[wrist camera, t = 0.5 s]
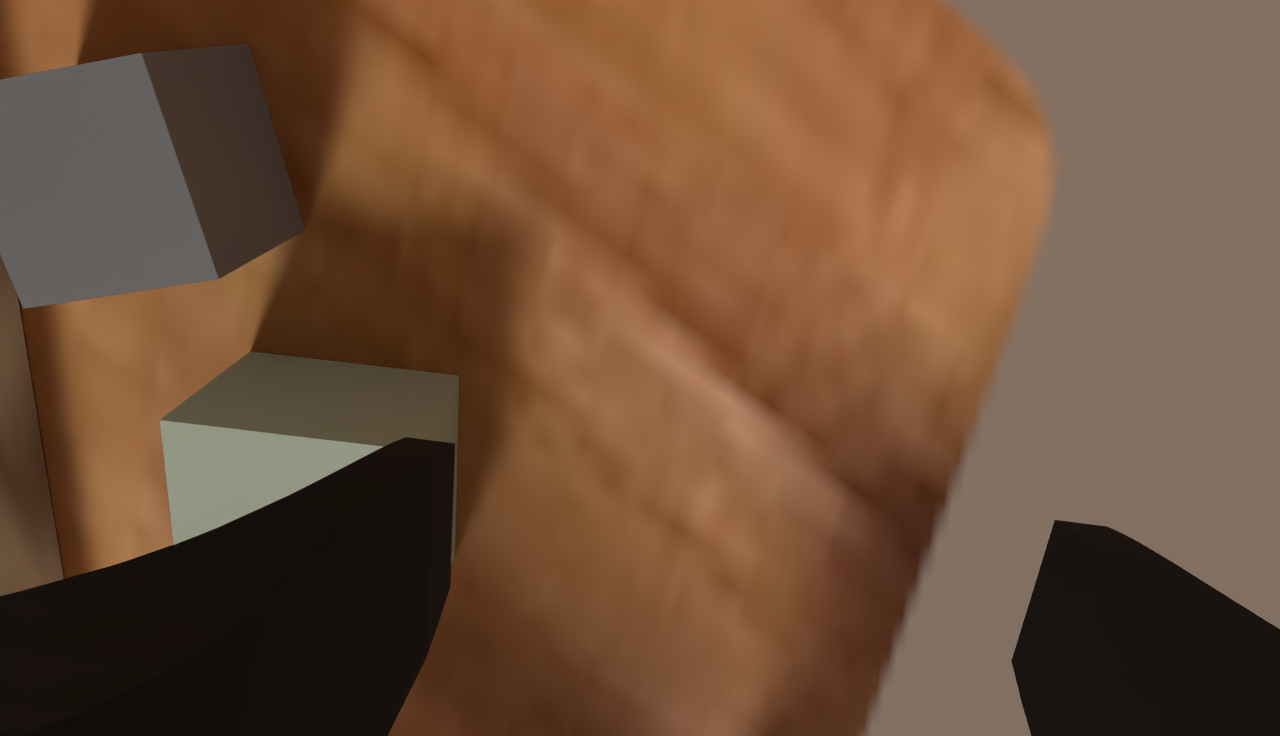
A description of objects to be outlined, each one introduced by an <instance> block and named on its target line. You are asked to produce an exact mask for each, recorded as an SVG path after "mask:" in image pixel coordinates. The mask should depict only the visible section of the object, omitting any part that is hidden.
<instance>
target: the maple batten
mask: <svg viewBox="0 0 1280 736" xmlns="http://www.w3.org/2000/svg"><path fill="white" fill-rule="evenodd" d="M62 579H64V576H63V570H62V564H61V558H60V552H59V546H58V540H57V534H56V528H55V522H54V515H53V509H52V503H51V497H50V491H49V485H48V479H47V473H46V467H45V460H44V454H43V448H42V442H41V436H40V430H39V424H38V418H37V412H36V405H35V399H34V393H33V387H32V381H31V375H30V369H29V363H28V357H27V350H26V344H25V338H24V332H23V326H22V320H21V314H20V308H19V302H18V296H17V293H16V290H15V288H14V285H13V283H12V281H11V278H10V276H9V274H8V271H7V269H6V267H5V264H4V262H3V260H2V257H1V255H0V596H3V595H7V594H11V593H15V592H19V591H23V590H26V589H30V588H33V587H37V586H41V585H44V584H48V583H52V582H55V581H59V580H62Z"/></svg>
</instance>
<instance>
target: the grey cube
mask: <svg viewBox="0 0 1280 736" xmlns="http://www.w3.org/2000/svg"><path fill="white" fill-rule="evenodd" d="M303 231H305V228H304V225H303V222H302V218H301V215H300V212H299V208H298V205H297V202H296V199H295V195H294V192H293V189H292V185H291V182H290V179H289V175H288V172H287V169H286V165H285V162H284V159H283V155H282V152H281V149H280V145H279V142H278V139H277V136H276V132H275V129H274V126H273V122H272V119H271V116H270V112H269V109H268V106H267V102H266V99H265V96H264V92H263V89H262V86H261V82H260V79H259V76H258V73H257V69H256V66H255V63H254V59H253V56H252V53H251V49H250V46H249V43H245V44H234V45H223V46H212V47H201V48H190V49H179V50H168V51H157V52H146V53H138V54H133V55H128V56H122V57H117V58H112V59H106V60H101V61H96V62H91V63H85V64H80V65H75V66H69V67H64V68H59V69H54V70H48V71H43V72H38V73H32V74H27V75H22V76H17V77H11V78H6V79H1V80H0V255H1V257H2V260H3V262H4V264H5V267H6V269H7V271H8V274H9V276H10V278H11V281H12V283H13V285H14V288H15V290H16V293H17V295H18V297H19V300H20V302H21V304H22V307H23V309H26V308H33V307H39V306H46V305H52V304H59V303H65V302H72V301H78V300H85V299H91V298H98V297H104V296H111V295H117V294H124V293H130V292H137V291H143V290H150V289H156V288H163V287H169V286H176V285H182V284H189V283H195V282H202V281H208V280H215V279H219V278H221V277H223V276H225V275H227V274H228V273H230V272H232V271H234V270H235V269H237V268H239V267H241V266H243V265H244V264H246V263H248V262H250V261H251V260H253V259H255V258H257V257H258V256H260V255H262V254H264V253H266V252H267V251H269V250H271V249H273V248H274V247H276V246H278V245H280V244H282V243H283V242H285V241H287V240H289V239H290V238H292V237H294V236H296V235H298V234H299V233H301V232H303Z"/></svg>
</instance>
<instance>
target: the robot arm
mask: <svg viewBox="0 0 1280 736" xmlns="http://www.w3.org/2000/svg"><path fill="white" fill-rule="evenodd" d="M454 465H455V443H448V442H440V441H432V440H424V439H417V438H409V437H405V438H402V439H400V440H397V441H395V442H392V443H390V444H388V445H386V446H384V447H382V448H380V449H378V450H376V451H374V452H372V453H370V454H368V455H366V456H364V457H362V458H360V459H359V460H357V461H355V462H353V463H351V464H349V465H347V466H345V467H343V468H341V469H339V470H337V471H336V472H334V473H332V474H330V475H328V476H326V477H324V478H322V479H320V480H318V481H316V482H314V483H312V484H310V485H308V486H306V487H304V488H302V489H300V490H298V491H296V492H294V493H292V494H290V495H288V496H286V497H284V498H282V499H279V500H277V501H275V502H273V503H271V504H269V505H266V506H264V507H262V508H260V509H258V510H255V511H253V512H251V513H249V514H247V515H244V516H242V517H240V518H238V519H236V520H233V521H231V522H229V523H227V524H225V525H222V526H220V527H218V528H215V529H213V530H210V531H208V532H206V533H203V534H201V535H198V536H195V537H193V538H190V539H188V540H185V541H182V542H180V543H177V544H174V545H172V546H169V547H166V548H163V549H160V550H157V551H154V552H152V553H149V554H146V555H143V556H140V557H137V558H134V559H131V560H128V561H125V562H122V563H119V564H116V565H113V566H110V567H106V568H102V569H99V570H95V571H91V572H88V573H84V574H81V575H77V576H73V577H70V578H66V579H62V580H59V581H55V582H52V583H48V584H44V585H41V586H37V587H33V588H30V589H26V590H23V591H19V592H15V593H11V594H7V595H3V596H0V736H388V734H389V732H390V730H391V728H392V726H393V724H394V722H395V720H396V718H397V716H398V714H399V712H400V710H401V708H402V706H403V704H404V702H405V700H406V697H407V695H408V693H409V691H410V689H411V687H412V685H413V683H414V681H415V679H416V677H417V675H418V673H419V671H420V669H421V667H422V665H423V663H424V661H425V659H426V656H427V654H428V651H429V648H430V645H431V642H432V640H433V637H434V634H435V631H436V628H437V625H438V622H439V619H440V616H441V613H442V610H443V607H444V604H445V601H446V598H447V595H448V592H449V589H450V577H451V549H452V521H453V493H454ZM1012 665H1013V669H1014V673H1015V677H1016V681H1017V685H1018V689H1019V693H1020V697H1021V701H1022V705H1023V708H1024V712H1025V715H1026V718H1027V722H1028V725H1029V729H1030V732H1031V736H1280V629H1278V628H1277V627H1275V626H1273V625H1272V624H1270V623H1269V622H1267V621H1265V620H1264V619H1262V618H1260V617H1259V616H1257V615H1256V614H1254V613H1252V612H1251V611H1249V610H1248V609H1246V608H1244V607H1243V606H1241V605H1240V604H1238V603H1236V602H1235V601H1233V600H1232V599H1230V598H1228V597H1227V596H1225V595H1224V594H1222V593H1220V592H1219V591H1217V590H1216V589H1214V588H1213V587H1211V586H1209V585H1208V584H1206V583H1204V582H1203V581H1201V580H1200V579H1198V578H1197V577H1195V576H1193V575H1192V574H1190V573H1189V572H1187V571H1185V570H1184V569H1182V568H1181V567H1179V566H1178V565H1176V564H1174V563H1173V562H1171V561H1169V560H1168V559H1166V558H1164V557H1163V556H1161V555H1159V554H1158V553H1156V552H1154V551H1153V550H1151V549H1149V548H1148V547H1146V546H1144V545H1142V544H1141V543H1139V542H1137V541H1135V540H1133V539H1132V538H1130V537H1128V536H1126V535H1124V534H1122V533H1120V532H1118V531H1115V530H1113V529H1111V528H1109V527H1106V526H1098V525H1090V524H1081V523H1074V522H1066V521H1058V520H1055V521H1054V525H1053V528H1052V531H1051V534H1050V538H1049V541H1048V544H1047V548H1046V551H1045V554H1044V557H1043V561H1042V564H1041V567H1040V571H1039V574H1038V577H1037V580H1036V583H1035V587H1034V590H1033V593H1032V596H1031V600H1030V603H1029V606H1028V609H1027V613H1026V616H1025V619H1024V622H1023V626H1022V629H1021V632H1020V635H1019V639H1018V642H1017V646H1016V648H1015V652H1014V655H1013V658H1012Z"/></svg>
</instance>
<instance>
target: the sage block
mask: <svg viewBox="0 0 1280 736" xmlns="http://www.w3.org/2000/svg"><path fill="white" fill-rule="evenodd" d="M458 407H459V375H450V374H441V373H433V372H424V371H415V370H407V369H398V368H389V367H381V366H372V365H363V364H355V363H346V362H337V361H329V360H320V359H311V358H303V357H294V356H285V355H277V354H268V353H259V352H251V351H250V352H249V353H248V354H246V355H245V356H244V357H242V358H241V359H240V360H238V361H237V362H236V363H235V364H233V365H232V366H231V367H229V368H228V369H227V370H225V371H224V372H223V373H221V374H220V375H219V376H217V377H216V378H215V379H213V380H212V381H211V382H210V383H208V384H207V385H206V386H204V387H203V388H202V389H200V390H199V391H198V392H196V393H195V394H194V395H192V396H191V397H190V398H188V399H187V400H186V401H185V402H183V403H182V404H181V405H179V406H178V407H177V408H175V409H174V410H173V411H171V412H170V413H169V414H167V415H166V416H165V417H163V418H162V419H161V420H160V425H161V434H162V443H163V452H164V461H165V470H166V479H167V489H168V498H169V507H170V516H171V525H172V534H173V543H174V544H177V543H180V542H182V541H185V540H188V539H190V538H193V537H195V536H198V535H201V534H203V533H206V532H208V531H210V530H213V529H215V528H218V527H220V526H222V525H225V524H227V523H229V522H231V521H233V520H236V519H238V518H240V517H242V516H244V515H247V514H249V513H251V512H253V511H255V510H258V509H260V508H262V507H264V506H266V505H269V504H271V503H273V502H275V501H277V500H279V499H282V498H284V497H286V496H288V495H290V494H292V493H294V492H296V491H298V490H300V489H302V488H304V487H306V486H308V485H310V484H312V483H314V482H316V481H318V480H320V479H322V478H324V477H326V476H328V475H330V474H332V473H334V472H336V471H337V470H339V469H341V468H343V467H345V466H347V465H349V464H351V463H353V462H355V461H357V460H359V459H360V458H362V457H364V456H366V455H368V454H370V453H372V452H374V451H376V450H378V449H380V448H382V447H384V446H386V445H388V444H390V443H392V442H395V441H397V440H400V439H402V438H405V437H409V438H417V439H424V440H432V441H440V442H448V443H455V465H454V493H453V521H452V549H451V564H452V562H453V560H454V558H455V538H456V494H457V451H458Z"/></svg>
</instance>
